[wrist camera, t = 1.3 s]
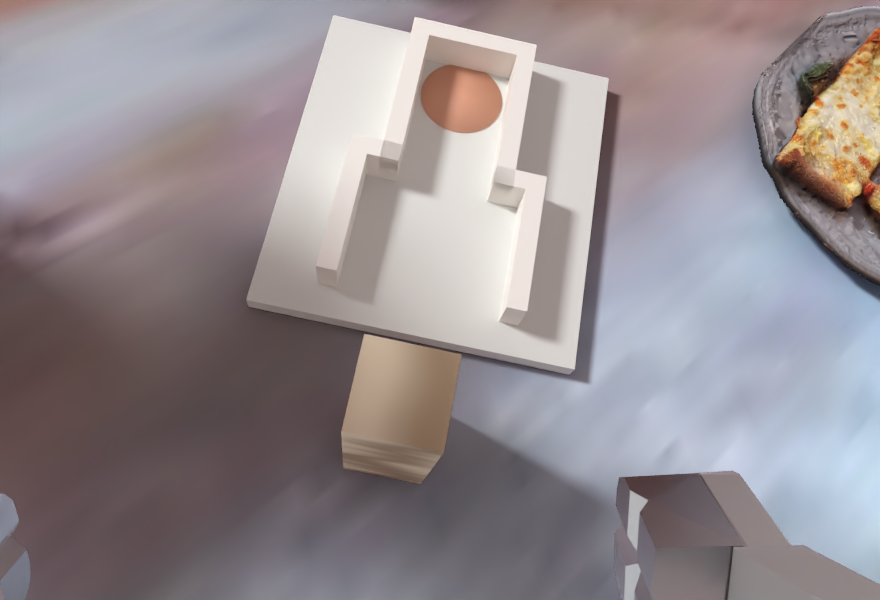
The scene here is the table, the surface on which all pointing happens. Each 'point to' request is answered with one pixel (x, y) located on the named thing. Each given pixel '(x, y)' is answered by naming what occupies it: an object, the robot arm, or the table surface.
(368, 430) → the beech peg
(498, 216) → the keyhole dock
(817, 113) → the food plate
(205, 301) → the table surface
